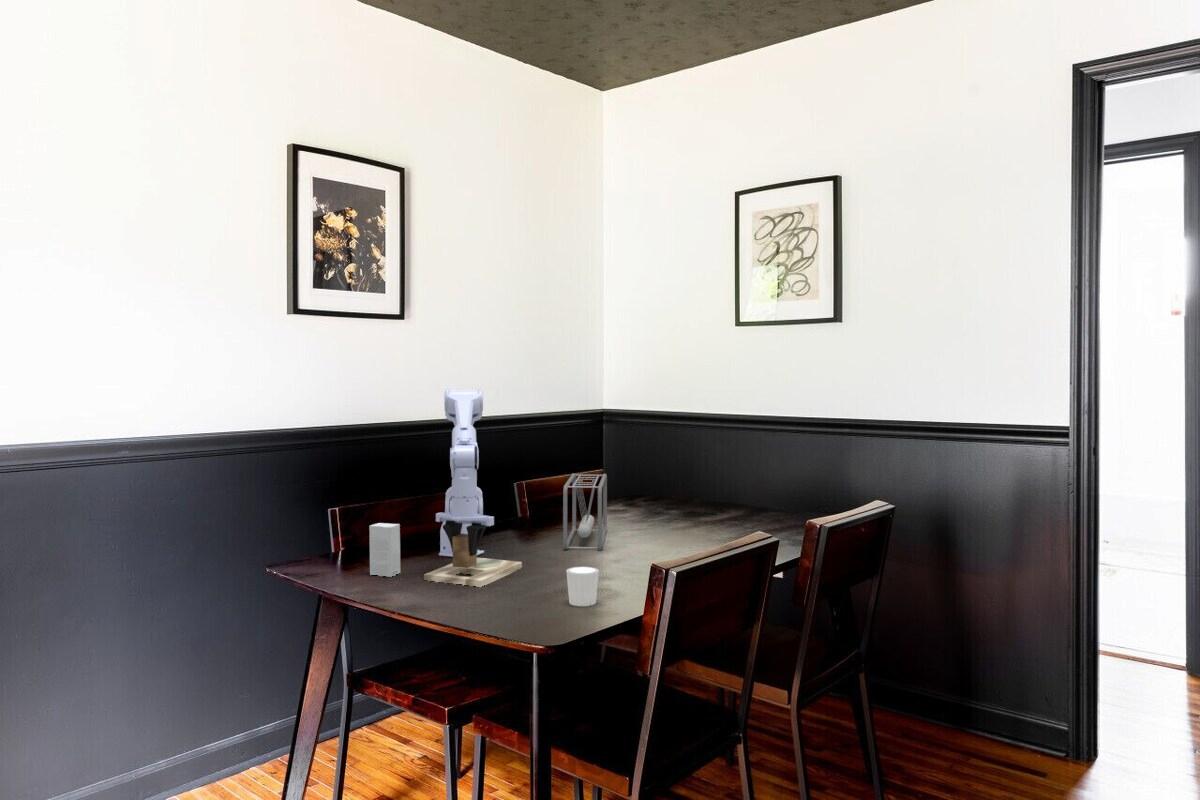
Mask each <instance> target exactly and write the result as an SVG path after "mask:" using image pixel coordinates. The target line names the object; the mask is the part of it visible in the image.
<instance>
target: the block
mask: <svg viewBox="0 0 1200 800" xmlns="http://www.w3.org/2000/svg"><path fill="white" fill-rule="evenodd" d="M477 556H478V555H477V554H476V555H474V556H470V553H469V537H468V534H459V535H456V536H453V557H452V563H453V567H462V568H469V567H472V566H474V565H476V564H477V558H478V557H477Z"/></svg>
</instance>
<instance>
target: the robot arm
mask: <svg viewBox="0 0 1200 800" xmlns="http://www.w3.org/2000/svg"><path fill="white" fill-rule="evenodd" d="M443 396H444V397H443V398H444V399H443V400H444V402H443V403H444V412H445V413H444V415H445V417H446V420H448V421H451V422H453V425H454V427H453V428H452V431H451V448H450V449H449V465H450V470H451V478H452V479H451V486H450V487H448V489H447V490H446V492H445V500H444V501H445V502H444V503H445V504H444V507H445V508H444V512H437V513H435V522H438V523H441V522H442V524H441V527H440V531H439V534H440V535H439V536H440V541H439V545H440V548H439V549H440V551H439V553H438V556H443V557H452V558H453V536H456V535H459V534H468V537H469V553H470V556H474V555H476V554H477V556H479V555H481V554H484V553H485V550H480V549H479V545H480V541H481V539H482V536H483V534H484V533H485V530H486V529H487V527H491V526H494V525H495V516H490V515H486V514H485V515H484V499H483V498H484V497H483V491H482V489H481V488H480V487H478V486H477V485H478V484H477V481H478V476H477V475H478V472H477V470H479V463H480V462H479V461H480V459H479V457H480V456H479V453H480V451H479V447H478V442H477V430H476V428H475V427H474V424H475V422H477V421H479V420H481V419H482V417H483V411H484V391H483V390H482V388H478V389H476V388H475V389H474V388H471V389H464V388H463V389H461V388H459V389H458V388H456V389H455V388H454V389H449V388H446V390H444V395H443ZM475 466H476V467H475Z"/></svg>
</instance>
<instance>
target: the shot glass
mask: <svg viewBox="0 0 1200 800" xmlns="http://www.w3.org/2000/svg"><path fill="white" fill-rule="evenodd" d="M599 573H600V569H598V568H596V567H594V566H573V567H569V568H567V569H566V582H567V591H568V592H567V593H568V604H569V605H571V606H575V607H590V605H591V606H594V605H595V604H596V603H597V598H598V597H597V596H598V595H597V594H598V585H599Z"/></svg>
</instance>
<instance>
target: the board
mask: <svg viewBox="0 0 1200 800" xmlns="http://www.w3.org/2000/svg"><path fill="white" fill-rule="evenodd" d="M521 569H523V562H522V561H517V560H516V561H515V560H504V559H495V558H486V557H477V564H476V565H474V566H472V567H469V568H462V567H453V562H451V563H449V564H447V565H444V566H442V567H439V568H437V569H435V570H433V571H432V570H431V571H430V572H427V573H425V574H424V575H423V578H424V580H427V581H426V582H430V581H435V582H434V583H438V582H444V583H443V584H447V583H453V584H452V585H456V584H462V585H461V586H464V585H469V586H468V587H473V586H476V587H477V588H483V587H484V585H485V586H486V585H489V584H491V583H494V582H496V581H498V580H500V579H502V578H504V577H506V576H508V575H510V574H513V573H514V572H517V571H518V570H521ZM459 573H463V574H462V575H460V574H459ZM456 574H458V575H456ZM466 574H471V575H470V576H463V575H466ZM482 586H483V587H482ZM476 587H475V588H476Z"/></svg>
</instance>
